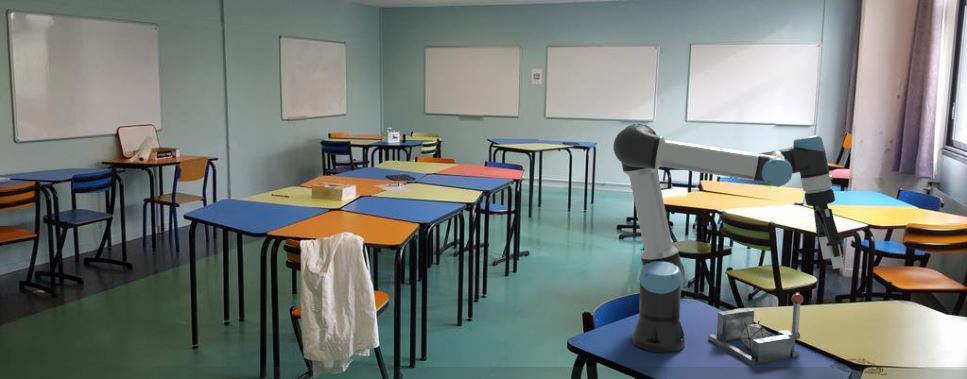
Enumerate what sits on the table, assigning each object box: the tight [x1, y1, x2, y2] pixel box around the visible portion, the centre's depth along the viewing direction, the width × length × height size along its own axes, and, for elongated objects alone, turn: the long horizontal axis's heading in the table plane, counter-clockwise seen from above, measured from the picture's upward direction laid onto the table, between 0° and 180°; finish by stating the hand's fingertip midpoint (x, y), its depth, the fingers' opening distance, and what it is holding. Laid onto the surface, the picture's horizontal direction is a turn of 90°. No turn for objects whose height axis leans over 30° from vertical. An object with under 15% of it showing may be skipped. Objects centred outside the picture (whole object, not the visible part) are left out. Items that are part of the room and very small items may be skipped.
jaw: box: [716, 307, 755, 343], centre depth 206 cm, size 3×11×8 cm, turn 108°
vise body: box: [707, 329, 798, 366], centre depth 200 cm, size 19×18×6 cm
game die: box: [737, 320, 774, 353], centre depth 199 cm, size 9×8×10 cm
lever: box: [790, 293, 804, 341], centre depth 198 cm, size 3×3×14 cm
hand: (833, 262), depth 196 cm, fingers open, 13 cm apart
